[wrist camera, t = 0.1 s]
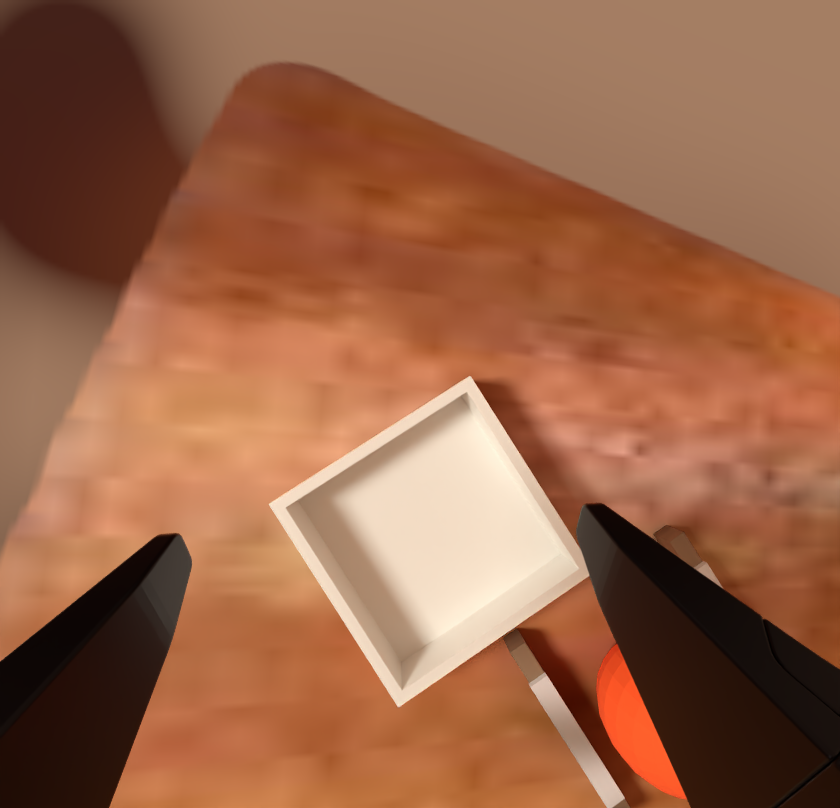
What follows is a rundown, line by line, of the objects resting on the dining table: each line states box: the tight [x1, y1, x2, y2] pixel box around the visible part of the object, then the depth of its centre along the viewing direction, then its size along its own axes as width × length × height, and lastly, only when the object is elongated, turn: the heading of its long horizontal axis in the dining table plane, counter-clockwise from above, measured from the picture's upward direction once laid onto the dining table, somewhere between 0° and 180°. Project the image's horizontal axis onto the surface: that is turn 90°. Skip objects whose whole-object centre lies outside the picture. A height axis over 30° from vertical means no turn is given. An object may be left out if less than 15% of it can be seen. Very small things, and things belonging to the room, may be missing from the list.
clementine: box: [596, 644, 687, 799], centre depth 21 cm, size 8×7×7 cm
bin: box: [269, 376, 589, 707], centre depth 23 cm, size 12×12×3 cm
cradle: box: [503, 525, 723, 808], centre depth 24 cm, size 12×12×2 cm
